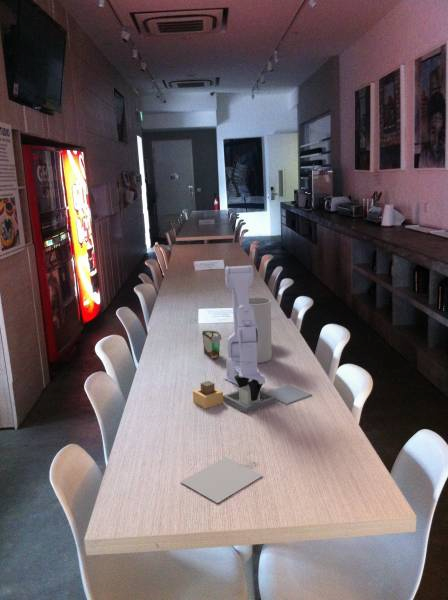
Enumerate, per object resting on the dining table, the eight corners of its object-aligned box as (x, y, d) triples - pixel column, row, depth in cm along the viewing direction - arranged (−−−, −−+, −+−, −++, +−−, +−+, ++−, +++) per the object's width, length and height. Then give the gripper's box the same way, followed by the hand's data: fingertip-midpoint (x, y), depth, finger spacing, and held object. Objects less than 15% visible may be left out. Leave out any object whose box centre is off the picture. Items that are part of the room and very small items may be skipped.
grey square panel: (157, 471, 152) (157, 468, 152) (222, 438, 169) (222, 436, 169) (217, 505, 136) (217, 502, 135) (283, 465, 153) (283, 463, 152)
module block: (239, 401, 194) (238, 388, 192) (250, 397, 196) (250, 384, 195) (248, 406, 190) (248, 392, 188) (259, 402, 193) (259, 388, 191)
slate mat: (263, 394, 199) (263, 392, 199) (288, 385, 206) (288, 384, 206) (286, 404, 190) (286, 403, 190) (311, 395, 197) (311, 394, 197)
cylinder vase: (235, 358, 236) (234, 301, 230) (257, 351, 244) (256, 295, 238) (256, 366, 227) (254, 306, 221) (277, 358, 235) (277, 300, 229)
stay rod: (201, 402, 194) (200, 383, 192) (209, 399, 196) (208, 380, 194) (207, 405, 192) (206, 386, 190) (215, 402, 194) (214, 383, 192)
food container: (226, 358, 236) (225, 336, 234) (212, 361, 234) (212, 338, 232) (216, 350, 248) (215, 328, 245) (202, 352, 245) (202, 330, 243)
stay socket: (193, 401, 195) (192, 391, 194) (210, 396, 199) (210, 385, 198) (205, 408, 189) (205, 397, 188) (223, 402, 193) (222, 391, 192)
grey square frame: (222, 401, 194) (222, 395, 194) (252, 391, 202) (251, 386, 201) (246, 413, 184) (246, 407, 184) (276, 402, 192) (276, 397, 191)
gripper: (226, 357, 193) (227, 394, 196) (253, 368, 181) (253, 407, 185) (242, 352, 197) (243, 388, 200) (269, 363, 186) (270, 401, 189)
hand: (249, 397), depth 193 cm, fingers closed on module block, 5 cm apart
